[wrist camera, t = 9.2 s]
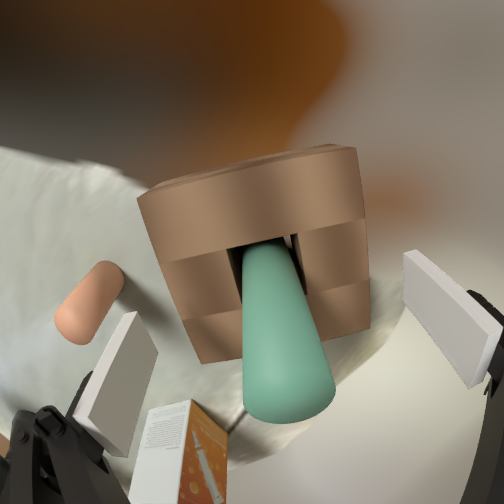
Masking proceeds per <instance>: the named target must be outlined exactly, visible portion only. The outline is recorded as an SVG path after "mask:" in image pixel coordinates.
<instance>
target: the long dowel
mask: <svg viewBox="0 0 504 504" xmlns="http://www.w3.org/2000/svg"><path fill="white" fill-rule="evenodd" d="M242 338H243V404H244V407H245V409H246V411H247V412H248V413H249V414H250V415H251V416H253V417H254V418H256V419H258V420H261V421H264V422H268V423H274V424H288V423H295V422H300V421H303V420H306V419H309V418H311V417H313V416H315V415H317V414H319V413H320V412H322V411H323V410H324V409H325V408H327V407H328V405H329V404H330V403H331V402H332V400H333V398H334V396H335V392H336V387H335V383H334V380H333V377H332V374H331V371H330V368H329V365H328V362H327V359H326V356H325V353H324V350H323V347H322V344H321V341H320V338H319V335H318V332H317V329H316V326H315V323H314V321H313V318H312V315H311V312H310V309H309V306H308V303H307V301H306V298H305V295H304V292H303V289H302V287H301V284H300V281H299V278H298V276H297V273H296V270H295V267H294V265H293V262H292V259H291V256H290V254H289V251H288V248H287V246H286V243H285V240H284V238H283V236H282V237H277V238H273V239H268V240H264V241H259V242H255V243H250V244H246V245H242Z"/></svg>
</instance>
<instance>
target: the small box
mask: <svg viewBox="0 0 504 504" xmlns="http://www.w3.org/2000/svg"><path fill="white" fill-rule="evenodd" d="M227 449H228V433H227V432H226V431H224V430H223V429H222V428H221V427H219V426H218V425H217V424H216V423H215V422H214V421H213V420H212V419H211V418H210V417H209V416H207V415H206V414H205V413H204V412H203V411H202V410H201V409H200V408H199V407H198V406H197V405H196V404H195V403H194V401H193V400H191V399H189V400H185V401H182V402H178V403H174V404H170V405H165V406H161V407H157V408H152V409H150V410H149V412H148V416H147V420H146V423H145V427H144V431H143V435H142V439H141V443H140V447H139V451H138V455H137V460H136V464H135V468H134V472H133V477H132V481H131V486H130V490H129V496H128V499H129V501H130V503H131V504H226V484H227Z"/></svg>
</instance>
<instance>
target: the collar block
mask: <svg viewBox="0 0 504 504" xmlns="http://www.w3.org/2000/svg"><path fill="white" fill-rule="evenodd" d="M362 194H363V193H362V186H361V178H360V171H359V164H358V157H357V151H356V148H354V147H348V146H341V145H335V144H326V145H319V146H314V147H308V148H302V149H297V150H292V151H287V152H282V153H277V154H272V155H268V156H262V157H258V158H254V159H250V160H245V161H241V162H236V163H232V164H228V165H224V166H220V167H216V168H212V169H208V170H204V171H200V172H197V173H193V174H190V175H186V176H182V177H179V178H176V179H172V180H169V181H165V182H162V183H160V184H158V185H156V186H155V187H153V188H152V189H150V190H149V191H147V192H146V193H144V194H143V195H141V196H139V197H138V198H136V199H137V202H138V205H139V208H140V211H141V214H142V217H143V220H144V223H145V226H146V229H147V232H148V235H149V238H150V241H151V243H152V246H153V249H154V252H155V255H156V257H157V260H158V263H159V265H160V268H161V271H162V273H163V276H164V278H165V281H166V284H167V286H168V289H169V291H170V294H171V296H172V299H173V301H174V303H175V306H176V308H177V311H178V313H179V315H180V318H181V320H182V322H183V325H184V327H185V329H186V332H187V334H188V336H189V338H190V341H191V343H192V345H193V347H194V349H195V352H196V354H197V356H198V358H199V360H200V362H201V364H208V363H214V362H221V361H227V360H234V359H240V358H243V338H242V267H241V263H240V259H239V256H238V252H237V248H236V247H237V246H241V245H246V244H250V243H255V242H259V241H264V240H268V239H273V238H277V237H282V236H286V235H290V237H291V242H292V248H293V253H294V259H295V261H292V262H293V265H294V267H295V270H296V273H297V276H298V278H299V281H300V284H301V287H302V289H303V292H304V295H305V298H306V301H307V303H308V306H309V309H310V312H311V315H312V318H313V321H314V323H315V326H316V329H317V332H318V335H319V338H320V341H325V340H329V339H333V338H337V337H341V336H345V335H348V334H352V333H356V332H359V331H363V330H366V329H370V285H369V264H368V263H369V262H368V247H367V233H366V221H365V211H364V202H363V195H362Z"/></svg>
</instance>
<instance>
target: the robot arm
mask: <svg viewBox="0 0 504 504" xmlns="http://www.w3.org/2000/svg"><path fill="white" fill-rule="evenodd" d="M402 301H403V302H404V303H405V305H406V306H407V307H408V308H409V310H410V311H411V312H412V313H413V315H414V316H415V317H416V318H417V320H418V321H419V322H420V323H421V325H422V326H423V327H424V328H425V330H426V331H427V332H428V334H429V335H430V336H431V338H432V339H433V340H434V342H435V343H436V344H437V346H438V347H439V348H440V350H441V351H442V352H443V354H444V355H445V356H446V358H447V359H448V361H449V362H450V363H451V365H452V366H453V368H454V369H455V371H456V372H457V373H458V375H459V376H460V378H461V379H462V380H463V382H464V384H465V385H466V386H467V388H468V389H470V388H472V387H474V386H475V385H477V384H479V383H481V382H483V380H484V377H485V375H486V372H487V371H488V372H489V373H490V375H491V378H490V381H489V383H488V385H487V387H486V389H485V391H484V395H486V393H487V391H488V396H487V403H486V409H485V415H484V421H483V426H482V431H481V435H480V439H479V444H478V448H477V452H476V456H475V459H474V463H473V466H472V469H471V473H470V476H469V479H468V482H467V485H466V488H465V491H464V493H463V496H462V499H461V502H460V504H504V316H503V315H502V314H501V313H500V312H499V311H498V310H497V309H496V308H495V307H493V305H491V304H490V303H489V302H488V301H487V300H486V299H485V298H484V297H483V296H482V295H481V294H479V293H477V292H475V291H472V290H468V291H465V290H464V289H463V288H461V287H460V286H459V285H458V284H457V283H456V282H455V281H453V280H452V279H451V278H450V277H449V276H447V275H446V274H445V273H444V272H443V271H442V270H441V269H439V268H438V267H437V266H436V265H435V264H433V263H432V262H431V261H430V260H429V259H427V258H426V257H425V256H424V255H422V254H421V253H420V252H419V251H417V250H413V251H409V252H405V253H403V290H402ZM157 355H158V351H157V349H156V347H155V345H154V343H153V341H152V339H151V337H150V336H149V334H148V332H147V330H146V328H145V326H144V324H143V322H142V320H141V317H140V315H139V313H138V311H135V312H129V313H125V314H124V315H123V317H122V319H121V321H120V323H119V324H118V326H117V328H116V330H115V332H114V333H113V335H112V337H111V339H110V341H109V343H108V344H107V346H106V348H105V350H104V352H103V354H102V356H101V358H100V360H99V362H98V364H97V365H96V367H95V369H94V371H91V372H90V373H89V374H88V375H87V376H86V377H85V378H84V379H83V381H82V383H81V385H80V387H79V388H80V389H78V391H77V393H76V396H75V397H74V399H73V401H72V403H71V405H70V407H69V410H68V412H67V414H66V416H65V417H64V416H63V415H62V414H61V413H60V412H59V411H58V410H57V408H56V407H54V406H52V405H50V406H45V407H43V408H41V409H40V410H39V411H38V412H37V413H36V414H33V413H31V412H27V411H23V410H20V411H18V412H17V413H16V415H15V417H14V418H13V421H12V428H11V436H10V446H9V450H8V452H7V454H6V457H5V458H3V457H2V456H1V455H0V504H131V503H130V501H129V499H128V498H127V496H126V494H125V493H124V491H123V489H122V488H121V486H120V484H119V482H118V480H117V479H116V477H115V475H114V473H113V471H112V469H111V467H110V465H109V463H108V461H107V459H106V458H105V457H104V456H103V455H102V454H103V451H104V449H105V450H106V451H107V452H108V453H109V454H111V455H112V456H116V457H126V458H128V454H129V450H130V446H131V443H132V439H133V435H134V432H135V428H136V424H137V421H138V417H139V414H140V411H141V407H142V404H143V400H144V397H145V394H146V390H147V387H148V384H149V381H150V377H151V374H152V371H153V368H154V365H155V362H156V359H157Z"/></svg>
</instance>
